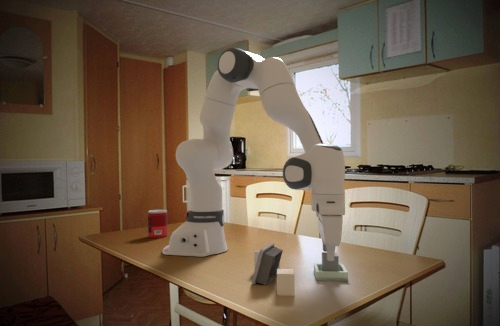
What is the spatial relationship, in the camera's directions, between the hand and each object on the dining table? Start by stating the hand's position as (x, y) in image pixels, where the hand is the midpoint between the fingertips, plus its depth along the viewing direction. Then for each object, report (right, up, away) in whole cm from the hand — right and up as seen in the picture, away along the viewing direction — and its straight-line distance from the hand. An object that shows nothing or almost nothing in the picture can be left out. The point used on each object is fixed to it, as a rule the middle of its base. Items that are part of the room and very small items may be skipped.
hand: (328, 255), depth 100 cm
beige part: (-13, -6, -12) cm, 18 cm away
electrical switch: (-16, -6, -3) cm, 18 cm away
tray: (0, -6, 0) cm, 6 cm away
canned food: (-60, -7, +57) cm, 83 cm away
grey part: (0, -5, 0) cm, 5 cm away
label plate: (-16, -6, +4) cm, 18 cm away
